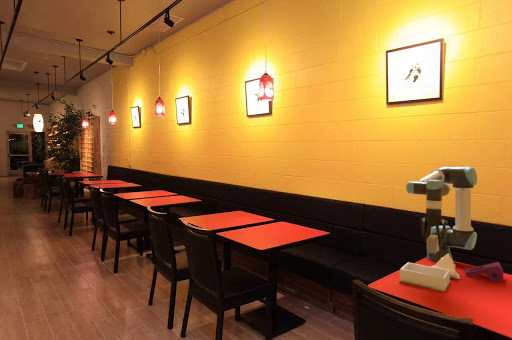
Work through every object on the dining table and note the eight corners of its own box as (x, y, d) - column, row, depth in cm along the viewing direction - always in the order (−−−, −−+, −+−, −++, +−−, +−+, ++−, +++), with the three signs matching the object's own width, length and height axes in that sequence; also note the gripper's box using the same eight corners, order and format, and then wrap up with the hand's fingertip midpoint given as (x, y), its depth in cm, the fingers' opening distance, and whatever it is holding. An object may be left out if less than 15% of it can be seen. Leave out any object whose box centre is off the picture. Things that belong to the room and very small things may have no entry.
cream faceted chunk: (431, 273, 202) (434, 250, 204) (459, 280, 193) (462, 256, 195) (429, 273, 192) (432, 249, 194) (458, 281, 183) (462, 256, 185)
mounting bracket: (470, 287, 191) (506, 280, 181) (463, 273, 193) (498, 265, 183) (472, 282, 199) (506, 276, 189) (465, 269, 201) (498, 261, 191)
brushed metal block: (430, 248, 186) (430, 234, 185) (438, 249, 183) (438, 235, 183) (426, 252, 178) (427, 237, 177) (435, 253, 175) (435, 238, 175)
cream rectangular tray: (407, 273, 196) (407, 262, 196) (449, 282, 182) (450, 270, 182) (399, 281, 184) (400, 269, 183) (444, 291, 170) (444, 278, 169)
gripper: (415, 207, 182) (414, 249, 183) (450, 210, 171) (449, 254, 172) (418, 205, 188) (417, 246, 189) (452, 208, 177) (451, 251, 178)
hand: (432, 250), depth 180 cm, fingers closed on brushed metal block, 4 cm apart
